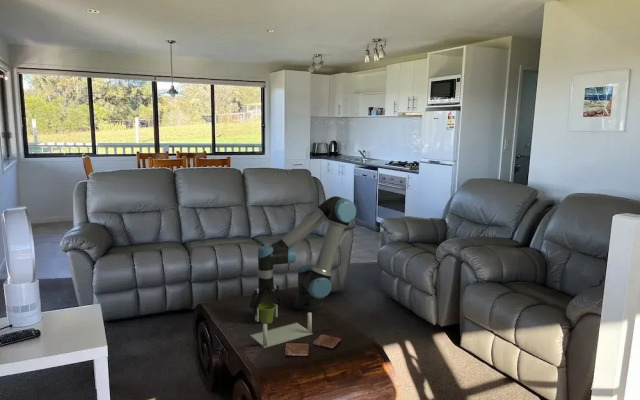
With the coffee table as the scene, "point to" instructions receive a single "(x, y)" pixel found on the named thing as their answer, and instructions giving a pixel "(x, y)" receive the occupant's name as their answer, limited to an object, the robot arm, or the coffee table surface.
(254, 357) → the coffee table surface
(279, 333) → the mat
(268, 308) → the plant pot
